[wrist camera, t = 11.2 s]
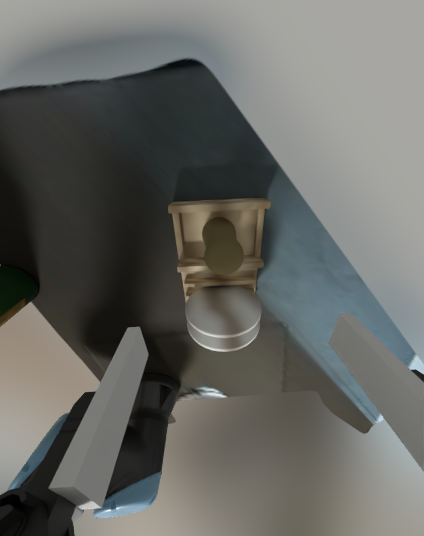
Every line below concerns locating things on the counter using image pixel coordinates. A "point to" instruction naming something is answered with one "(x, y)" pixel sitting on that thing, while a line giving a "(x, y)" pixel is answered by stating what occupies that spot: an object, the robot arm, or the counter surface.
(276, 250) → the counter surface
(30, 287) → the bottle
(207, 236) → the cork
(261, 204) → the rack
